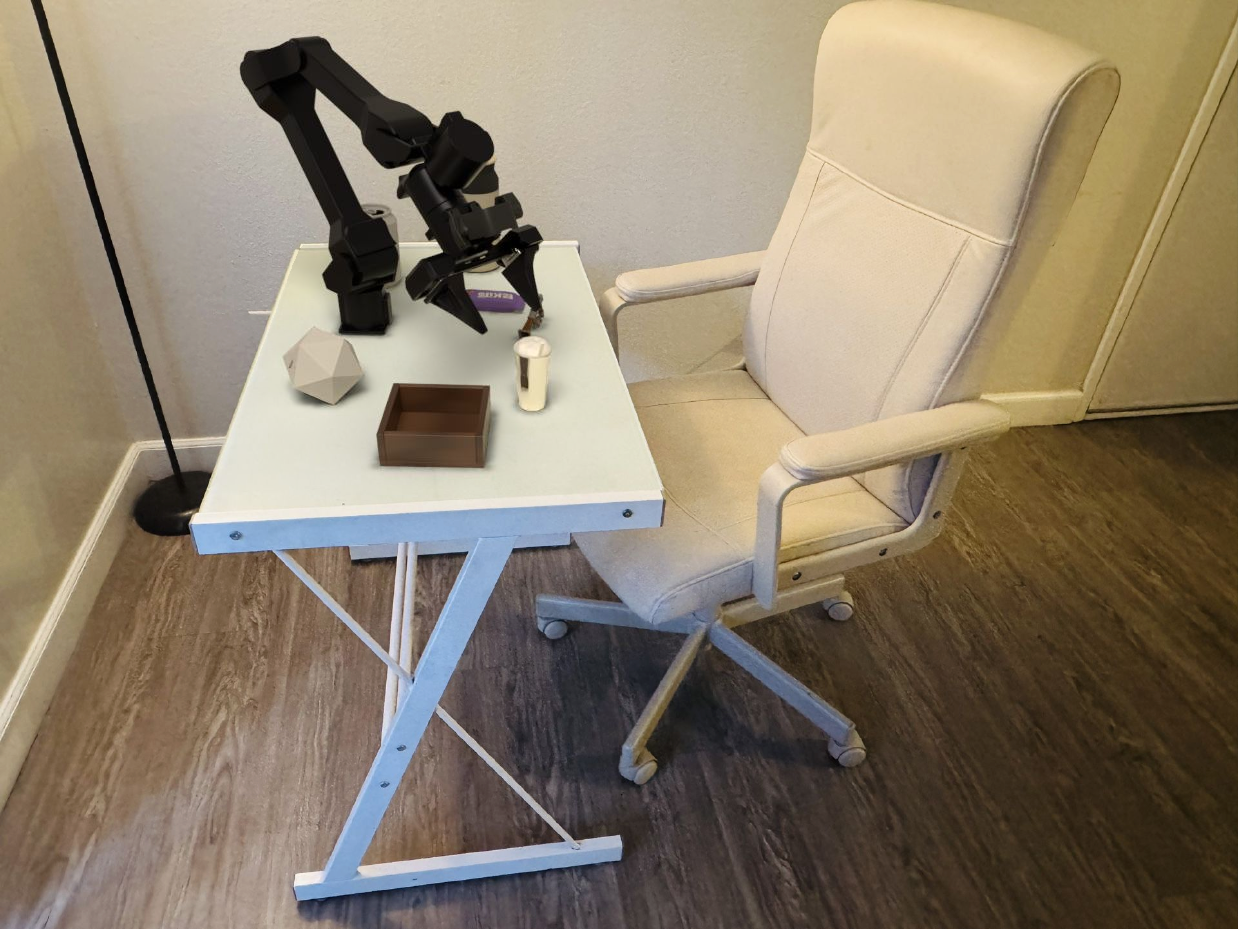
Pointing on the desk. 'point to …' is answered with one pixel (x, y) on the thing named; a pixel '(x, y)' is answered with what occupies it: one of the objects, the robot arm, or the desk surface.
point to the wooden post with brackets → (532, 321)
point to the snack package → (496, 300)
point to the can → (391, 221)
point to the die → (323, 365)
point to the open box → (435, 425)
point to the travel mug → (484, 197)
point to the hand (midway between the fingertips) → (512, 321)
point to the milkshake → (532, 371)
